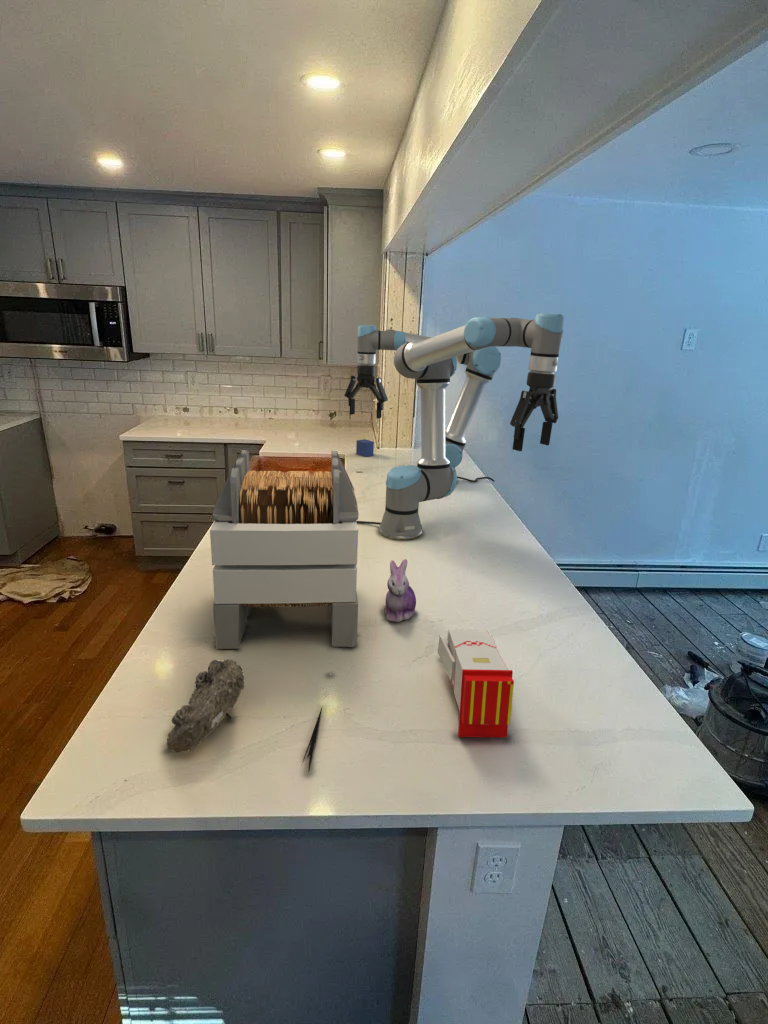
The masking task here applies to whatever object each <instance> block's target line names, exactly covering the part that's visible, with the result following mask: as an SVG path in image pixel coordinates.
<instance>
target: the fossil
mask: <svg viewBox="0 0 768 1024" xmlns="http://www.w3.org/2000/svg"><path fill="white" fill-rule="evenodd" d="M243 670H244V669H243V667H242V665H240V664H237V662H236V661H235V660H234V659H232V658H231V659H227V658H226V659H224V660H223V661H222V660H217V659H212V660H211V661H210V663H209V665H208V666H207V671H201V672H199V673H198V674H197V675H196V676H195V680H194V684H195V685H194V687H195V689H194V690H193V693H192V694H191V697H190V698H189V700H188V704H184V705H182V706H181V707H180V709H177V710H176V711H175V713H174V715H173V716H172V718H171V723H172V724H173V727H172V730H171V731H170V732H168V734H167V738H166V741H167V742H166V745H167V749H168V750H169V751H173V752H174V753H176V754H178V753H182V752H188V751H189V752H192V751H193V750H195V748H196V747H197V746H199V744H200V743H201V742H203V741H204V740H205V739H206V738H207V737H208V736H209V735H210V734H211V733H212V732H214V730H215V729H217V727H218V726H219V724H220V722H221V721H222V720H223V719H224V718H225V716H226V717H227V719H229V720H233V717H232V715H230V714H229V710H230V709H231V708H234V706H235V704H236V703H237V702H238V699H239V697H240V695H241V693H242V691H243V690H245V689H244V688H245V675H244V671H243Z"/></svg>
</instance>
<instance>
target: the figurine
mask: <svg viewBox="0 0 768 1024" xmlns="http://www.w3.org/2000/svg"><path fill="white" fill-rule="evenodd" d="M407 567H408V559H406V558H404V559H403V560H402V561H401V563H400V565H399V566H398V565H397V563H396V562H395V561H394V560H393V559H391V560H390V561H389V570H390V576H389V578H388V579H387V589H388V591H387V592H386V594H385V595H386V596H385V607H384V615H385V616H386V620H387V621H391V622H395V623H400V622H402V621H406V620H409V619H410V618H411V617H413V616H414V615H415V610H416V606H417V597H416V593H415V591H414V590H413V587H411V586H410V582H409V579H408V577H407V574H406V571H407Z"/></svg>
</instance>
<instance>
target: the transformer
mask: <svg viewBox="0 0 768 1024" xmlns="http://www.w3.org/2000/svg"><path fill="white" fill-rule="evenodd" d="M330 459H331V460H330V461H331V462H330V466H331V467H330V471H324V472H323V471H320V470H319V471H317V470H316V471H315V470H314V472H310V471H309V470H288V471H281V470H278V471H277V470H259V471H258V470H251V464H250V450H249V449H247V450H246V449H241V450H240V453H239V455H238V457H237V459H236V461H235V463H234V465H233V467H232V468H231V470H230V472H229V474H228V477H227V479H226V481H225V483H224V485H223V488H222V490H221V492H220V495H219V497H218V499H217V501H216V503H215V506H214V507H213V510H212V520H213V523H212V524H211V527H210V529H209V538H210V555H211V565H212V566H214V567H213V569H212V584H213V600H214V601H213V605H212V610H213V611H212V612H213V624H214V633H215V646H214V648H215V649H216V650H222V651H223V649H225V650H227V649H229V650H230V649H233V650H234V649H235V650H237V649H238V648H239V646H240V643H241V641H242V638H243V635H244V633H245V630H246V628H247V618H249V615H250V612H251V608H270V607H272V608H276V607H277V608H279V607H280V608H282V607H285V608H288V607H291V608H294V607H295V608H296V607H306V606H307V607H326V606H328V607H330V617H331V618H330V620H331V621H330V625H331V626H330V627H331V647H333V648H335V647H337V648H338V647H339V648H340V647H347V648H354V647H356V646H358V622H359V621H358V618H359V600H358V592H357V583H358V568H357V564H358V547H359V546H358V545H359V528H358V527H359V526H358V523H357V521H358V520H359V515H360V514H359V507H358V502H357V498H356V497H357V496H356V493H355V492H356V491H355V487H354V485H353V482H352V481H351V478H350V477H349V474H348V472H347V470H346V468H345V465H344V463H343V461H342V459H341V457H340V455H339V453H338V451H337V450H331V458H330Z"/></svg>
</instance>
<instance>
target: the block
mask: <svg viewBox="0 0 768 1024" xmlns="http://www.w3.org/2000/svg"><path fill="white" fill-rule="evenodd" d="M355 446H356V447H355V449H356V450H355V454H356V455H358V456H361V457H364V458H366V457H372V456H374V447H375V441H373V440H369V439H365V438H363V439H357V440H356V445H355Z"/></svg>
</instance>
